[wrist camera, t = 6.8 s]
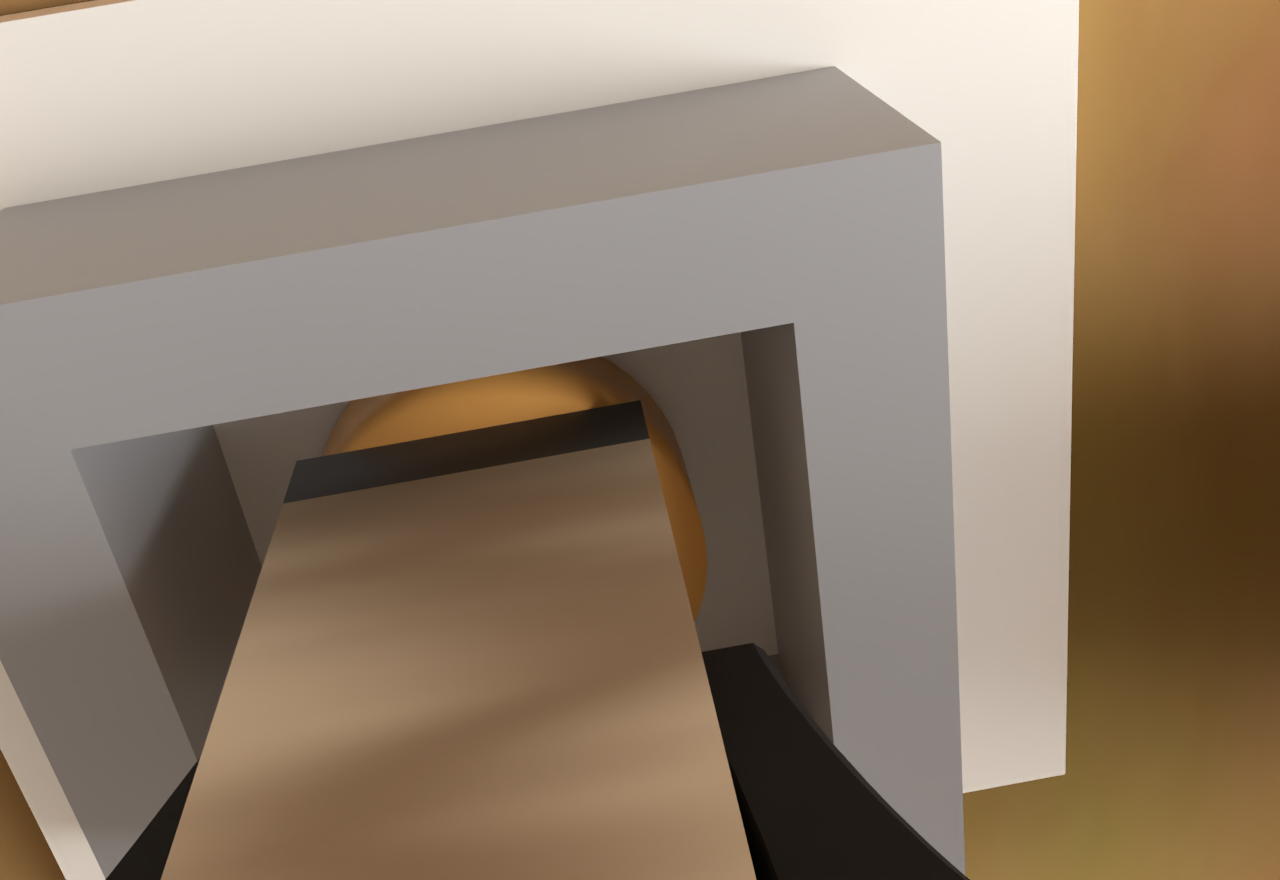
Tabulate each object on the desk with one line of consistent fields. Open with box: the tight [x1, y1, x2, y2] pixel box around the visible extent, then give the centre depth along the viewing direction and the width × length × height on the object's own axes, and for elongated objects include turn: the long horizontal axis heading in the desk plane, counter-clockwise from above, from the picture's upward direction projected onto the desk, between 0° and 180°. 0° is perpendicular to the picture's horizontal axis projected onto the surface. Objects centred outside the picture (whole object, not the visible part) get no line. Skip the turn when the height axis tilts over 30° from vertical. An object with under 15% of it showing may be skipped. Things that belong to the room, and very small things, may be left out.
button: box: [322, 357, 707, 623], centre depth 16 cm, size 5×5×2 cm
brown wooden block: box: [161, 400, 756, 880], centre depth 11 cm, size 4×4×9 cm
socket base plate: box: [0, 0, 1079, 880], centre depth 16 cm, size 16×14×5 cm
